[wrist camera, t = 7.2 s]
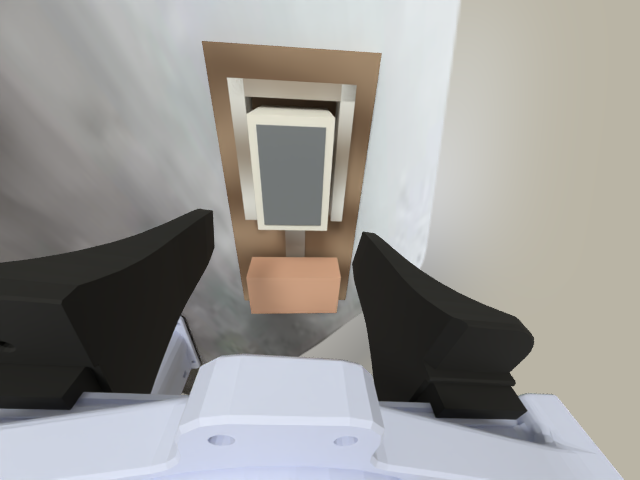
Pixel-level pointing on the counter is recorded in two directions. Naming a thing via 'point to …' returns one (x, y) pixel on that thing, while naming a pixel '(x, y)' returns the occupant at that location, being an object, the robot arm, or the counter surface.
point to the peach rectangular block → (293, 284)
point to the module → (291, 166)
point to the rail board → (299, 91)
